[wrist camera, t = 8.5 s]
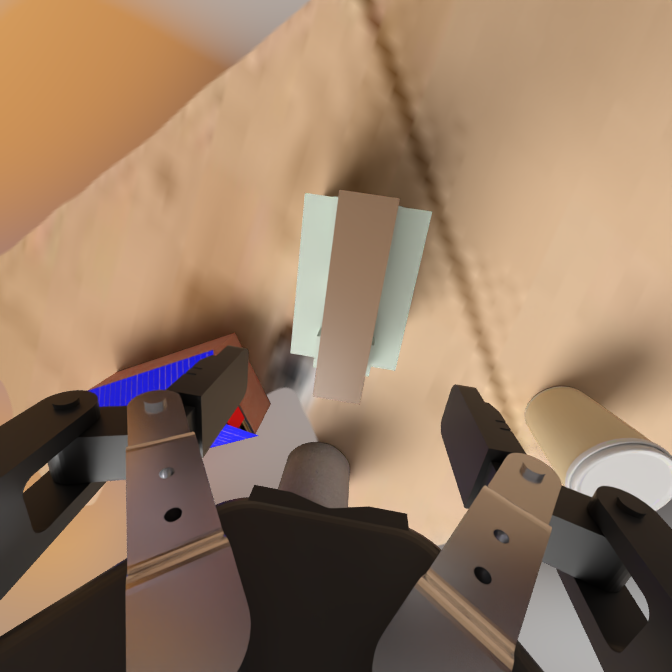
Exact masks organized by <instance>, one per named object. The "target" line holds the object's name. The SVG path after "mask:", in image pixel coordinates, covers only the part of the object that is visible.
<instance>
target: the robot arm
mask: <svg viewBox="0 0 672 672" xmlns="http://www.w3.org/2000/svg"><path fill="white" fill-rule="evenodd" d="M248 358H249V353H248V349H247V348H242V347H236V346H230V345H228V346H226V347H225V348H224V349H223V350H222V351H221V352H220V353H219V354H218V355H216V356H215V355H211V356H208V357H206V358H203V359H201V360H199V361H198V362H197V363H196V364H195V365H194V366H192V368H190V369H189V370H188V371H187V372H186V374H183V375H182V376H181V377H180V378H179V379H177V380H176V381H175V382H174V383H173V384H172V385H171V386H169V387H168V388H167V389H166V390H153V391H149V392H145V393H142V394H140V395H138V396H136V397H134V398H133V399H132V400H131V401H130V402H129V403H128V405H127V406H103V407H99V402H98V397H97V395H96V394H94V393H92V392H90V391H83V390H76V391H67V392H62V393H58V394H55V395H52V396H50V397H47V398H45V399H43V400H42V401H40V402H38V403H37V404H35V405H34V406H32V407H30V408H29V409H27V410H26V411H24V412H22V413H21V414H19V415H18V416H16V417H14V418H13V419H11V420H9V421H8V422H6V423H5V424H3V425H1V426H0V600H1V599H2V598H3V597H4V596H5V595H6V593H7V592H8V591H9V590H10V589H11V588H12V587H13V585H15V583H16V582H17V581H18V580H19V579H20V578H21V577H22V576H23V574H24V573H25V572H26V571H27V570H28V569H29V568H30V567H31V565H32V564H33V563H34V562H35V561H36V560H37V559H38V558H39V557H40V555H41V554H42V553H43V552H44V551H45V550H46V549H47V548H48V546H49V545H50V544H51V543H52V542H53V541H54V540H55V539H56V537H57V536H58V535H59V534H60V533H61V532H62V531H63V530H64V529H65V527H66V526H67V525H68V524H69V523H70V522H71V521H72V519H73V518H74V517H75V516H76V515H77V514H78V513H79V512H80V510H81V509H82V508H83V507H84V506H85V505H86V504H87V503H88V502H89V501H90V499H91V498H92V497H93V496H94V495H95V494H96V493H97V492H98V490H99V489H100V488H101V487H102V486H103V485H104V484H105V483H106V481H115V480H126V509H127V558H126V559H125V560H123V561H121V562H120V563H118V564H117V565H115V566H113V567H112V568H110V569H109V570H107V571H105V572H104V573H102V574H100V575H99V576H97V577H96V578H94V579H92V580H91V581H89V582H88V583H86V584H84V585H83V586H81V587H80V588H78V589H76V590H75V591H73V592H71V593H70V594H68V595H67V596H65V597H63V598H62V599H60V600H59V601H57V602H55V603H54V604H52V605H50V606H49V607H47V608H46V609H44V610H42V611H41V612H39V613H37V614H36V615H34V616H33V617H31V618H29V619H28V620H26V621H25V622H23V623H21V624H20V625H18V626H16V627H15V628H13V629H12V630H10V631H8V632H7V633H5V634H4V635H2V636H0V672H544V671H543V670H542V669H541V668H540V666H539V665H538V664H537V663H536V662H535V660H534V659H533V658H532V657H531V656H530V655H529V653H528V652H527V651H526V649H525V648H524V647H523V646H522V645H521V643H520V642H519V641H518V637H519V634H520V630H521V627H522V624H523V621H524V617H525V614H526V611H527V608H528V605H529V601H530V598H531V595H532V592H533V588H534V585H535V582H536V579H537V576H538V572H539V569H540V566H541V563H542V562H544V563H546V564H548V565H550V566H552V567H555V568H556V569H557V572H558V574H559V576H560V578H561V580H562V582H563V584H564V587H565V589H566V591H567V593H568V595H569V597H570V600H571V602H572V604H573V606H574V608H575V610H576V612H577V614H578V617H579V619H580V621H581V623H582V625H583V628H584V630H585V632H586V634H587V636H588V638H589V640H590V642H591V645H592V647H593V649H594V651H595V653H596V655H597V658H598V660H599V662H600V664H601V666H602V668H603V670H604V672H672V529H671V528H670V527H669V526H668V525H667V523H666V522H665V521H664V520H663V519H662V518H661V517H660V516H659V515H658V513H657V512H656V511H655V510H653V509H652V508H651V507H650V506H649V505H647V504H646V503H645V502H643V501H642V500H640V499H639V498H637V497H635V496H634V495H632V494H630V493H628V492H626V491H623V490H621V489H618V488H615V487H611V486H600V487H598V488H597V490H596V491H595V493H594V495H593V496H592V497H590V496H588V495H585V494H582V493H580V492H577V491H575V490H572V489H570V488H567V487H565V486H562V484H561V480H560V478H559V476H558V475H557V474H556V472H555V471H554V470H553V469H552V468H550V467H549V466H548V465H547V464H545V463H544V462H542V461H540V460H539V459H537V458H535V457H532V456H530V455H527V454H526V453H525V451H524V450H523V448H522V447H521V445H520V443H519V442H518V440H517V439H516V437H515V436H514V434H513V433H512V432H511V431H510V430H511V429H510V428H509V426H508V425H507V424H506V423H505V420H504V419H503V417H502V415H501V414H500V412H499V411H497V410H496V409H495V408H494V407H493V406H491V405H490V404H489V403H485V402H484V401H483V399H482V397H481V396H480V394H479V392H478V390H477V389H476V388H474V387H468V386H462V385H456V384H455V385H454V386H453V387H452V389H451V392H450V395H449V398H448V401H447V404H446V407H445V411H444V414H443V417H442V421H441V435H442V438H443V441H444V444H445V448H446V451H447V454H448V457H449V460H450V463H451V466H452V470H453V473H454V476H455V479H456V482H457V485H458V488H459V492H460V495H461V498H462V501H463V504H464V507H465V508H468V511H467V512H466V514H465V515H464V517H463V518H462V520H461V521H460V523H459V524H458V526H457V527H456V529H455V530H454V532H453V534H452V535H451V537H450V538H449V540H448V541H447V543H446V544H445V546H444V547H443V549H442V550H441V549H440V548H439V547H438V546H436V545H435V544H434V543H433V542H432V541H430V540H429V539H427V538H426V537H424V536H423V535H421V534H420V533H418V532H416V531H414V530H412V529H410V528H409V527H408V519H407V514H405V513H400V512H395V511H389V510H384V509H379V508H374V507H348V508H327V507H324V506H322V505H320V504H318V503H315V502H313V501H311V500H308V499H306V498H304V497H302V496H299V495H297V494H295V493H293V492H289V491H284V490H278V489H273V488H268V487H263V486H257V485H254V487H253V489H252V492H251V494H250V496H249V497H248V498H238V499H233V500H229V501H225V502H222V503H219V504H217V505H215V502H214V498H213V495H212V492H211V488H210V484H209V481H208V477H207V474H206V470H205V467H204V463H203V460H202V458H203V457H204V456H205V454H206V453H207V451H208V450H209V448H210V447H211V445H212V444H213V442H214V441H215V439H216V438H217V437H218V435H219V434H220V432H221V431H222V429H223V428H224V426H225V425H226V423H227V422H228V420H229V419H230V417H231V416H232V415H233V413H234V412H235V410H236V409H237V407H238V406H239V404H240V403H241V401H242V400H243V398H244V396H245V393H246V390H247V383H248ZM46 463H48V466H49V471H48V472H47V473H46V474H45V475H43V476H42V477H41V478H40V479H39V480H38V481H37V482H35V483H34V484H33V485H32V486H31V487H30V488H28V489H27V490H26V491H25V492H24V493H23V490H24V487H25V485H26V483H27V481H28V480H29V479H30V478H31V476H32V475H33V474H34V473H36V472H37V471H38V470H39V469H40V468H42V467H43V466H44V465H45V464H46ZM631 576H632V578H633V579H634V581H635V582H636V584H637V585H638V587H639V588H640V590H641V591H642V593H643V595H644V596H645V598H646V601H647V603H648V607H649V620H648V621H647V619H646V617H645V616H644V614H643V613H642V611H641V609H640V608H639V606H638V605H637V603H636V602H635V600H634V598H633V597H632V595H631V594H630V592H629V590H628V589H627V587H626V586H625V584H626V582H627V581H628V580H629V578H630V577H631Z"/></svg>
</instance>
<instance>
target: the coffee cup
mask: <svg viewBox="0 0 672 672" xmlns="http://www.w3.org/2000/svg"><path fill="white" fill-rule="evenodd" d="M525 421H526V424H527V426H528V428H529V429H530V431H531V433H532V435H533V436H534V438H535V440H536V441H537V443H538V445H539V446H540V448H541V450H542V451H543V453H544V454H545V456H546V458H547V459H548V461H549V463H550V464H551V466H552V468H553V469H554V471H555V472H556V474H557V475H558V476H559V478H560V480H561V482H562V484H563V485H564V486H565V487H567V488H570V489H572V490H575V491H577V492H580V493H582V494H585V495H588V496H590V497H592V496H593V495H594V493H595V491H596V490H597V488H598V487H600V486H611V487H615V488H618V489H621V490H623V491H626V492H628V493H630V494H632V495H634V496H635V497H637V498H639V499H640V500H642V501H643V502H645V503H646V504H647V505H649V506H650V507H651V508H652V509H653V510H655V511H656V510H658V509H660V508H661V507H663V506H664V505H665V504H666V503H668V502H669V500H671V498H672V456H671V455H670V454H669V453H668V452H667V451H666V450H665V449H664V448H662V447H661V446H659V445H657V444H656V443H653V442H652V441H650V440H649V439H647V438H646V437H645V436H643V435H642V434H641V433H639V432H638V431H637V430H635V429H634V428H632V427H631V426H630V425H628V424H627V423H625V422H624V421H623V420H621V419H620V418H618V417H617V416H615V415H614V414H613V413H611V412H610V411H608V410H607V409H606V408H604V407H603V406H601V405H600V404H598V403H597V402H596V401H594V400H593V399H591V398H590V397H588V396H587V395H585V394H584V393H582V392H581V391H579V390H577V389H575V388H571V387H566V386H559V387H552V388H549V389H546V390H544V391H542V392H540V393H539V394H537V395H536V396H534V397H533V398H532V399H531V401H530V402H529V403H528V405H527V407H526V410H525Z"/></svg>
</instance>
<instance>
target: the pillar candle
mask: <svg viewBox="0 0 672 672" xmlns="http://www.w3.org/2000/svg"><path fill="white" fill-rule="evenodd" d="M349 475H350V467H349V463H348V461H347V459H346V458H345V457H344V455H343V454H342V453H341V452H340V451H339V450H338V449H336V448H335V447H333V446H331V445H329V444H325V443H321V442H310V443H305V444H302V445H301V446H298V447H297V448H295V449H294V450H293V451H292V452H291V453H290V455H289V456H288V459H287V463H286V465H285V468H284V471H283V475H282V478H281V481H280V484H279V487H278V490H284V491H289V492H293V493H295V494H297V495H299V496H302V497H304V498H306V499H308V500H311V501H313V502H315V503H318V504H320V505H322V506H324V507H327V508H348V495H349Z"/></svg>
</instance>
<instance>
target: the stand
mask: <svg viewBox="0 0 672 672" xmlns="http://www.w3.org/2000/svg"><path fill="white" fill-rule="evenodd" d="M337 204H338V197H335V196H334V197H329V196H322V195H316V194H309V193H305V199H304V210H303V221H302V232H301V243H300V254H299V265H298V276H297V287H296V298H295V309H294V320H293V331H292V342H291V353H292V354H298V355H304V356H310V357H314V363H313V367H315V368H316V367H317V359H318V352H319V344H320V336H321V328H322V320H323V313H324V305H325V297H326V289H327V281H328V274H329V266H330V258H331V250H332V242H333V235H334V227H335V219H336V211H337ZM431 215H432V211H425V210H418V209H411V208H405V207H403V206H398V211H397V216H396V221H395V227H394V232H393V237H392V242H391V247H390V252H389V257H388V262H387V267H386V273H385V278H384V283H383V288H382V293H381V298H380V303H379V308H378V313H377V319H376V324H375V329H374V334H373V339H372V344H371V349H370V354H369V359H368V365H367V370H366V375H365V376H369V373H370V368H371V367H376V368H382V369H388V370H394V371H395V369H396V365H397V361H398V356H399V352H400V348H401V344H402V339H403V335H404V331H405V326H406V322H407V318H408V314H409V309H410V305H411V301H412V296H413V292H414V288H415V284H416V279H417V275H418V271H419V266H420V262H421V258H422V254H423V249H424V245H425V241H426V236H427V232H428V228H429V224H430V219H431Z"/></svg>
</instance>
